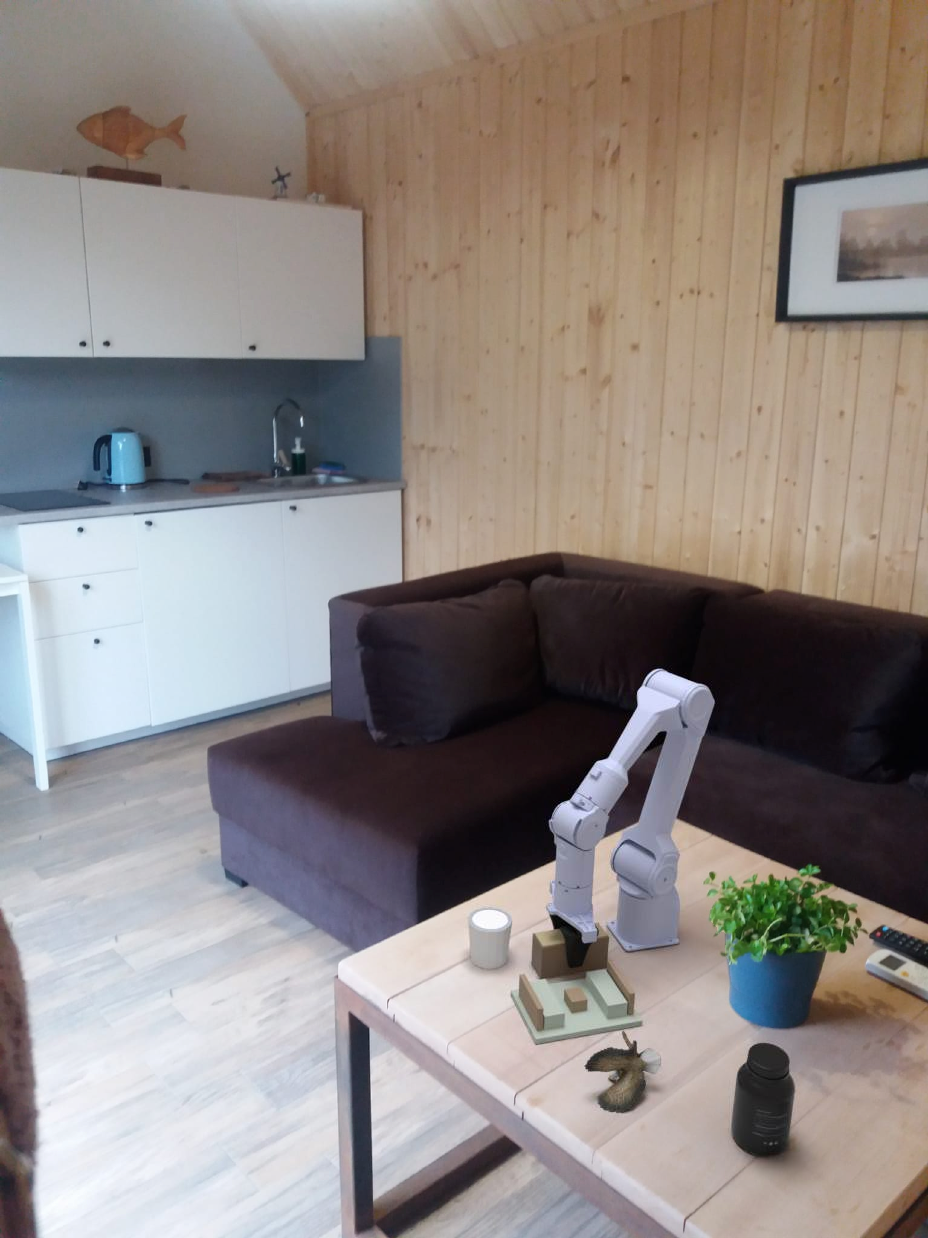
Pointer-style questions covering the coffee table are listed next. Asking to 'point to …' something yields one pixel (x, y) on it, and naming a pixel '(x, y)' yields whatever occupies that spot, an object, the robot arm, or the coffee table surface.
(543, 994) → the display cradle
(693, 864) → the coffee table surface
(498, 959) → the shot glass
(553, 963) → the tan rectangular box
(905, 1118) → the coffee table surface
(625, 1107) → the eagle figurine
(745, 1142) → the supplement bottle
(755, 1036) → the coffee table surface
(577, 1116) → the coffee table surface
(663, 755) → the robot arm
